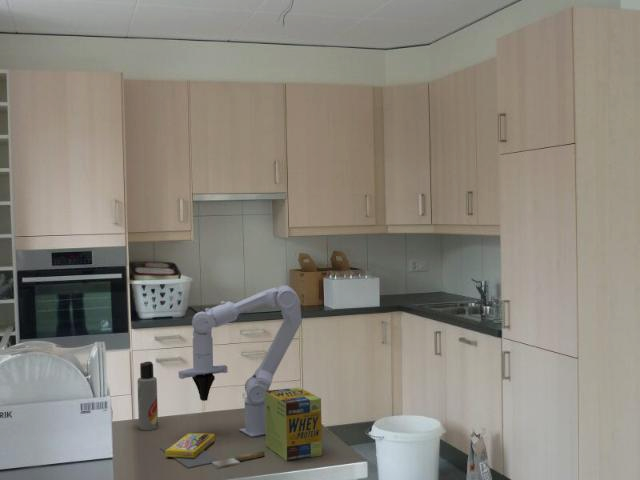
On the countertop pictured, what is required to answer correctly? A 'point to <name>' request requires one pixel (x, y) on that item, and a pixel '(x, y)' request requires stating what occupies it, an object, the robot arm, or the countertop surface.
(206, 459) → the mat
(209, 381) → the robot arm
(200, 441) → the candy box
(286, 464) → the countertop surface
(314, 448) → the protein box
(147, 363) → the lotion bottle
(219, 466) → the turner
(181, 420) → the countertop surface
